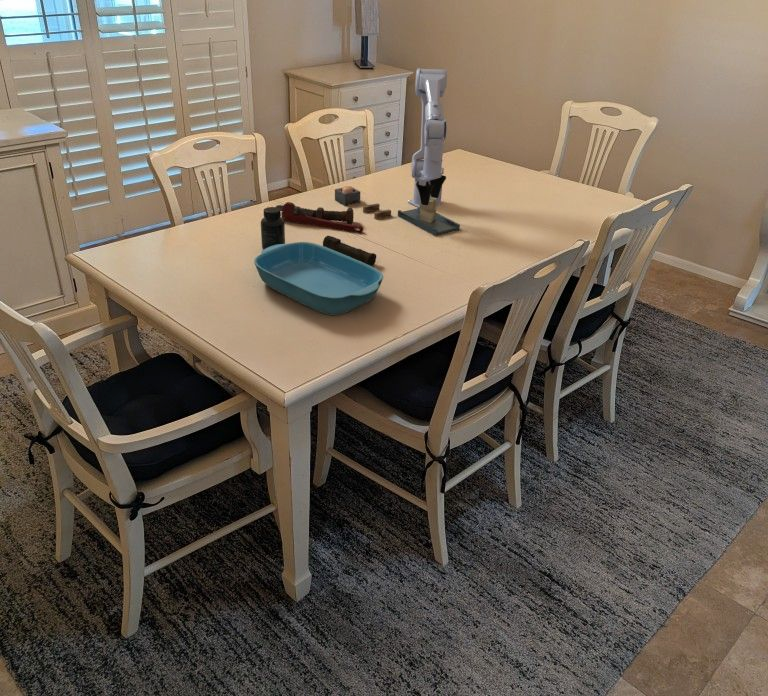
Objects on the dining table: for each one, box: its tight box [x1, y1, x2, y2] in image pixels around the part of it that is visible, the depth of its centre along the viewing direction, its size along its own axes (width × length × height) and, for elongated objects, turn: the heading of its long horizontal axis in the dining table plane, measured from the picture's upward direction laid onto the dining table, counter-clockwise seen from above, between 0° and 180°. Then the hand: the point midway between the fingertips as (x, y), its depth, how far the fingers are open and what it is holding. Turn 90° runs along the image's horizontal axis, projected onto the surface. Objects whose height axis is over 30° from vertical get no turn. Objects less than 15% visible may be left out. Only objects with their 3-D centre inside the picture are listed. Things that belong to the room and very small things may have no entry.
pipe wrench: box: [275, 201, 364, 234], centre depth 217 cm, size 7×2×30 cm
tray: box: [397, 207, 461, 237], centre depth 224 cm, size 10×20×2 cm, turn 36°
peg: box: [419, 197, 438, 223], centre depth 223 cm, size 4×4×7 cm
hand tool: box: [322, 235, 377, 267], centre depth 199 cm, size 19×4×5 cm, turn 50°
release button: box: [341, 185, 354, 193], centre depth 238 cm, size 4×4×4 cm
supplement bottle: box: [260, 206, 286, 251], centre depth 199 cm, size 7×7×12 cm
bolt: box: [306, 206, 355, 225], centre depth 221 cm, size 6×5×15 cm
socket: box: [362, 203, 392, 220], centre depth 229 cm, size 6×8×2 cm
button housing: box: [334, 185, 361, 207], centre depth 238 cm, size 6×6×4 cm
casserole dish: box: [253, 241, 384, 316], centre depth 179 cm, size 37×22×7 cm, turn 50°
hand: (429, 201), depth 221 cm, fingers open, 7 cm apart
